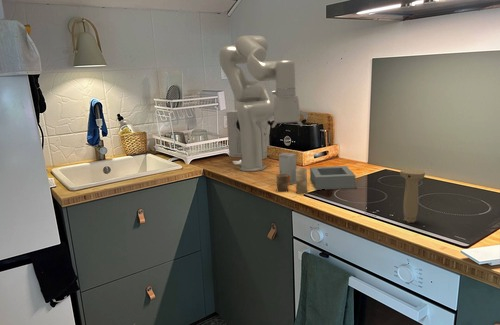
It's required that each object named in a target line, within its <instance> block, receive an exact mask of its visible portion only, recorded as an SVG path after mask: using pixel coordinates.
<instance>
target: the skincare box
mask: <svg viewBox="0 0 500 325" xmlns="http://www.w3.org/2000/svg"><path fill="white" fill-rule="evenodd" d="M278 169H279V170H278V171H279V173H278V174H287V176H288V185H290V186H291V185H293V184H294V185H295V184H296V169H297V154H296V153H291V152H282V153H279V154H278Z"/></svg>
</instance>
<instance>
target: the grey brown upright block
mask: <svg viewBox="0 0 500 325" xmlns="http://www.w3.org/2000/svg"><path fill="white" fill-rule="evenodd" d="M295 184H296V186H295V187H296V190H295V191H296V193H297V194H299V195H303V194H304V193H305V194H308V168H307V167H298V168H297V167H296V183H295Z"/></svg>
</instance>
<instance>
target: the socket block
mask: <svg viewBox="0 0 500 325" xmlns="http://www.w3.org/2000/svg"><path fill="white" fill-rule="evenodd" d="M309 174H310V175H309V180H310V181H311V183H312V185H313V187H314V190H315V191H318V190H319V191H321V190H322V189H325V190H340V189H341V190H342V189H343V190H345V189H355V188H356V175H355V173H354V172H353V171H352V170H351V169H350V168H349V167H348V166H347V165H338V166H336V165H334V166H318V167H317V166H314V167H313V166H312V167H309Z"/></svg>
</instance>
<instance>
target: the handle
mask: <svg viewBox="0 0 500 325" xmlns="http://www.w3.org/2000/svg"><path fill="white" fill-rule="evenodd" d="M425 174H426V172H425V171H424V170H423V171H422V170H420V169H411V168H410V169H409V168H407V169H406V168H404V169H401V170H400V172H399V175H400V176H401V177H402V178H404V180H405V186H404V195H403V208H402V209H403V220H404V221H405V222H406V223H416V222H417V216H418V211H419V180H422V179H423V178H425Z"/></svg>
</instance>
